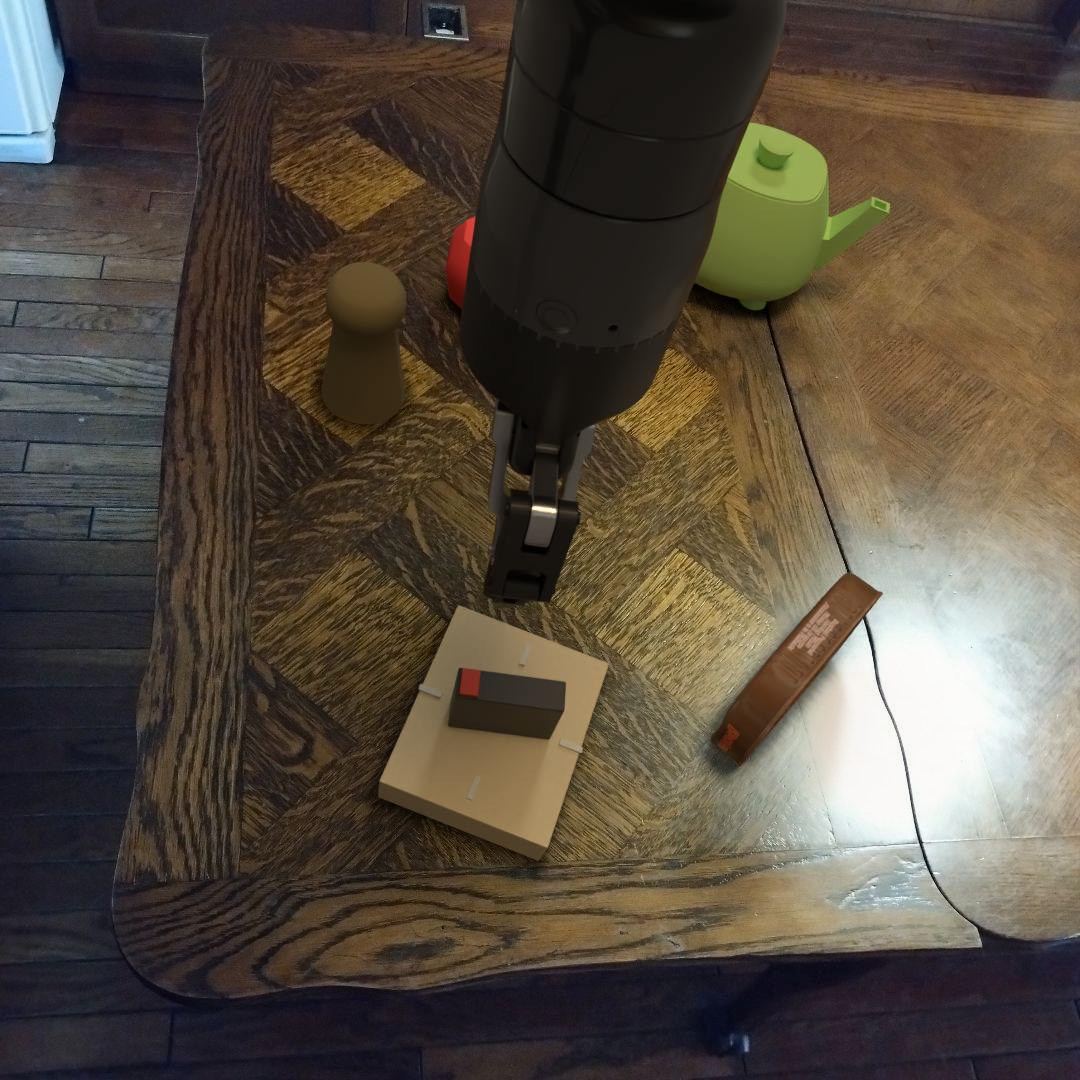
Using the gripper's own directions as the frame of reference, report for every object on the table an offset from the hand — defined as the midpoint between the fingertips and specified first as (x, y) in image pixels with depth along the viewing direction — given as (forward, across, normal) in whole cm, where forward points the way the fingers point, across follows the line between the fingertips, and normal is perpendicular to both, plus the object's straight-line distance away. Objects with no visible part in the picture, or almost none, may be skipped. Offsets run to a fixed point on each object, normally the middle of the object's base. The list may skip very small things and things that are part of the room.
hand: (512, 514), depth 47 cm
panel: (+18, -4, -2) cm, 19 cm away
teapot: (+19, +41, -19) cm, 49 cm away
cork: (+19, +21, +10) cm, 30 cm away
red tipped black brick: (+15, -4, -2) cm, 16 cm away
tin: (+18, +1, -20) cm, 27 cm away
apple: (+19, +32, +1) cm, 37 cm away
